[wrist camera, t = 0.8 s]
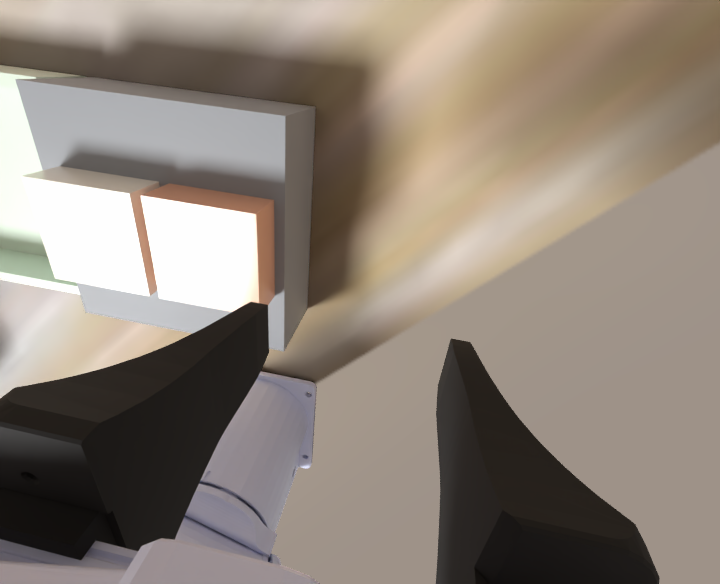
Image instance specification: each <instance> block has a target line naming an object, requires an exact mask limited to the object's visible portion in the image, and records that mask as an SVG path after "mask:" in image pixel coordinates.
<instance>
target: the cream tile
mask: <svg viewBox="0 0 720 584" xmlns="http://www.w3.org/2000/svg"><path fill="white" fill-rule="evenodd" d="M21 178H22V181H23V184H24V187H25V190H26V193H27V196H28V199H29V202H30V205H31V208H32V211H33V214H34V217H35V220H36V223H37V226H38V229H39V232H40V235H41V238H42V241H43V244H44V247H45V250H46V253H47V256H48V259H49V262H50V265H51V268H52V271H53V274H54V277H55V279H60V280H65V281H71V282H76V283H81V284H87V285H92V286H97V287H103V288H108V289H113V290H118V291H124V292H129V293H134V294H140V295H145V296H151V295H152V294H153V293H155V292H156V291H157V290H158V288H157V282H156V277H155V271H154V266H153V261H152V255H151V250H150V244H149V239H148V233H147V228H146V223H145V217H144V212H143V206H142V201H141V195H143V194H145V193H147V192H150V191H152V190H154V189H157V188H159V187H160V186H159V182H157V181H151V180H145V179H138V178H132V177H126V176H119V175H113V174H107V173H100V172H94V171H88V170H81V169H75V168H69V167H63V166H58V167H54V168H50V169H46V170H42V171H38V172H35V173H31V174H27V175H23V176H21Z"/></svg>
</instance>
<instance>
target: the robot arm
mask: <svg viewBox="0 0 720 584" xmlns="http://www.w3.org/2000/svg"><path fill="white" fill-rule="evenodd" d="M268 353H269V327H268V305H266V304H261V303H256V302H249V303H247V304H245V305H244V306H242V307H240V308H238V309H236V310H235V311H233V312H231V313H230V314H228V315H226V316H224V317H223V318H221V319H219V320H217V321H215V322H214V323H212V324H210V325H208V326H206V327H205V328H203V329H201V330H199V331H197V332H195V333H193V334H191V335H189V336H187V337H185V338H183V339H181V340H179V341H177V342H175V343H172V344H170V345H168V346H166V347H163V348H161V349H158V350H156V351H153V352H151V353H148V354H146V355H143V356H140V357H138V358H134V359H131V360H128V361H125V362H122V363H119V364H116V365H113V366H110V367H107V368H103V369H100V370H96V371H92V372H89V373H85V374H81V375H77V376H73V377H68V378H64V379H59V380H54V381H49V382H44V383H38V384H33V385H28V386H22V387H16V388H14V389H12V390H11V391H10V392H9V393H7V394H6V395H5V396H3V397H2V398H1V399H0V584H320V583H318V582H317V581H316V580H315V579H313V578H312V577H311V576H309V575H307V574H304V573H302V572H299V571H297V570H294V569H291V568H289V567H286V566H282V565H281V562H280V558H279V557H277V556H276V555H273V554H271V551H272V548H273V545H274V542H275V539H276V537H277V534H276V533H275V530H276V528H277V525H278V522H279V519H280V516H281V514H282V511H283V508H284V505H285V502H286V499H287V497H288V494H289V491H290V488H291V485H292V482H293V480H294V477H295V474H296V471H297V468H298V467H302V468H309V467H310V466H311V463H312V452H313V436H314V420H315V405H316V403H315V402H316V388H317V387H316V385H315V384H314V383H313V382H311V381H306V380H301V379H296V378H291V377H286V376H281V375H276V374H271V373H267V372H262V371H261V369H262V367H263V365H264V363H265V360H266V358H267V356H268ZM308 392H309V393H311V394H309V393H308ZM436 416H437V432H438V449H439V465H440V489H441V490H440V491H441V492H440V518H439V539H438V560H437V575H436V584H659V575H658V573H657V571H656V568H655V566H654V564H653V561H652V559H651V557H650V554H649V552H648V549H647V547H646V545H645V543H644V541H643V539H642V537H641V535H640V533H639V531H638V529H637V527H636V525H635V524H634V523H633V522H631V521H630V520H629V519H628V518H626V517H625V516H623V515H622V514H621V513H620V512H618V511H617V510H616V509H614V508H613V507H612V506H611V505H609V504H608V503H607V502H605V501H604V500H603V499H601V498H600V497H599V496H597V495H596V494H595V493H594V492H593V491H591V490H590V489H589V488H588V487H587V486H586V485H584V484H583V483H582V482H581V481H579V479H577V478H576V477H575V476H574V475H573V474H572V473H571V472H570V471H569V470H567V469H566V468H565V467H564V466H563V465H562V464H561V463H560V462H559V461H558V460H557V459H556V458H555V457H554V456H553V455H552V454H551V453H550V452H549V451H548V450H547V449H546V448H545V447H544V446H543V445H542V444H541V443H540V442H539V441H538V440H537V439H536V438H535V437H534V436H533V434H532V433H531V432H530V431H529V430H528V428H527V427H526V426H525V425H524V424H523V423H522V421H521V420H520V419H519V418H518V417H517V415H516V414H515V413H514V411H513V410H512V409H511V407H510V406H509V405H508V403H507V402H506V400H505V399H504V398H503V396H502V395H501V393H500V392H499V390H498V389H497V387H496V385H495V384H494V382H493V381H492V379H491V378H490V376H489V374H488V373H487V371H486V370H485V367H484V366H483V364H482V362H481V360H480V359H479V357H478V355H477V353H476V351H475V350H474V348H473V346H472V344H471V343H470V342H466V341H461V340H455V339H451V340H450V344H449V348H448V351H447V355H446V359H445V362H444V366H443V369H442V373H441V377H440V380H439V384H438V394H437V411H436Z"/></svg>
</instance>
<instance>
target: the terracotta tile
mask: <svg viewBox="0 0 720 584" xmlns="http://www.w3.org/2000/svg"><path fill="white" fill-rule="evenodd" d="M141 201H142V206H143V212H144V217H145V223H146V228H147V233H148V239H149V244H150V250H151V255H152V261H153V266H154V271H155V277H156V282H157V288H158V293H159V298H161V299H166V300H171V301H177V302H182V303H187V304H193V305H198V306H203V307H208V308H214V309H219V310H224V311H230V312H233V311H235V310H236V309H238V308H240V307H242V306H244V305H245V304H247V303H249V302H256V303H261V304H266V305H269V303H270V302H271V301H272V299H273V298H274V296H275V248H274V200H271V199H265V198H259V197H252V196H246V195H240V194H233V193H227V192H221V191H214V190H208V189H202V188H195V187H189V186H183V185H176V184H170V183H169V184H166V185H164V186H162V187H159V188H157V189H154V190H152V191H150V192H147V193H145V194H143V195H141Z"/></svg>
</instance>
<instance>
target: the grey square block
mask: <svg viewBox="0 0 720 584" xmlns="http://www.w3.org/2000/svg"><path fill="white" fill-rule="evenodd" d="M15 80H16V84H17V87H18V90H19V94H20V97H21V100H22V103H23V107H24V110H25V113H26V117H27V120H28V123H29V127H30V130H31V133H32V137H33V140H34V143H35V146H36V150H37V153H38V156H39V160H40V163H41V166H42V170H46V169H50V168H54V167H58V166H63V167H69V168H75V169H81V170H88V171H94V172H100V173H107V174H113V175H119V176H126V177H132V178H138V179H145V180H151V181H157V182H159V186H160V187H162V186H164V185H166V184H169V183H170V184H176V185H183V186H189V187H195V188H202V189H208V190H214V191H221V192H227V193H233V194H240V195H246V196H252V197H259V198H265V199H271V200H274V248H275V296H274V298H273V299H272V301H271V302H270V303H269V305H268V327H269V349H274V350H279V351H285V349H286V347H287V345H288V343H289V341H290V340H291V338H292V336H293V334H294V332H295V330H296V329H297V327H298V325H299V323H300V321H301V319H302V318H303V316H304V314H305V312H306V310H307V305H308V280H309V256H310V232H311V208H312V184H313V160H314V136H315V111H316V107H314V106H307V105H299V104H292V103H284V102H277V101H269V100H262V99H254V98H246V97H239V96H231V95H224V94H216V93H209V92H201V91H194V90H186V89H179V88H171V87H164V86H156V85H149V84H141V83H134V82H126V81H119V80H111V79H103V78H96V77H85V78H44V79H15ZM77 285H78V289H79V292H80V295H81V299H82V302H83V305H84V309H85V312H86V313H91V314H96V315H101V316H106V317H111V318H116V319H122V320H127V321H132V322H137V323H142V324H147V325H152V326H157V327H162V328H167V329H172V330H178V331H183V332H188V333H195V332H197V331H199V330H201V329H203V328H205V327H206V326H208V325H210V324H212V323H214V322H215V321H217V320H219V319H221V318H223V317H224V316H226V315H228V314H230V313H231V312H230V311H224V310H219V309H214V308H208V307H203V306H198V305H193V304H187V303H182V302H177V301H171V300H166V299H161V298H159V293H158V290H157V291H156V292H155V293H153V294H152V295H151V296H145V295H140V294H134V293H129V292H124V291H118V290H113V289H108V288H103V287H97V286H92V285H87V284H81V283H77Z"/></svg>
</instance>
